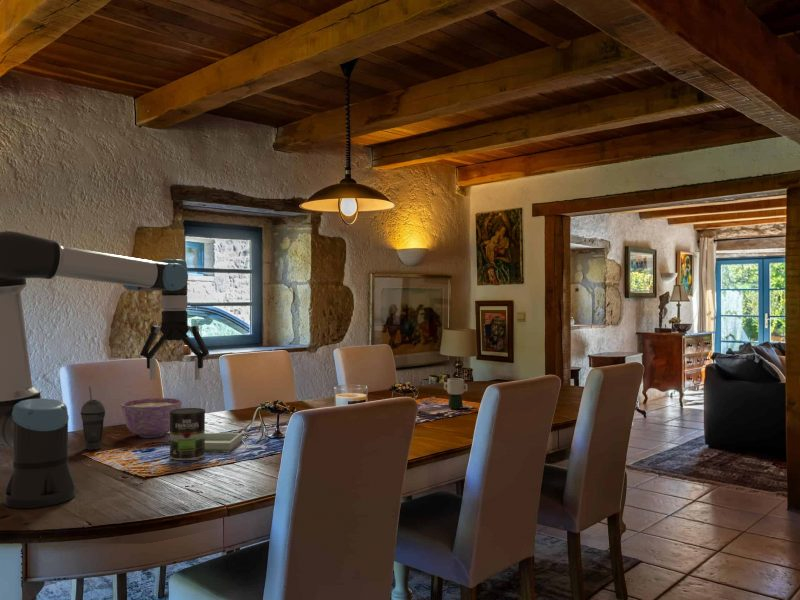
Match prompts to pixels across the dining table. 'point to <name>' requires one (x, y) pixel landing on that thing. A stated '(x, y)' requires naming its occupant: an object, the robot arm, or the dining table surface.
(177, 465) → the dining table surface
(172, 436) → the coffee can
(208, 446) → the tray
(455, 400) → the character mug
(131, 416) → the bowl of food
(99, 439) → the beverage cup
